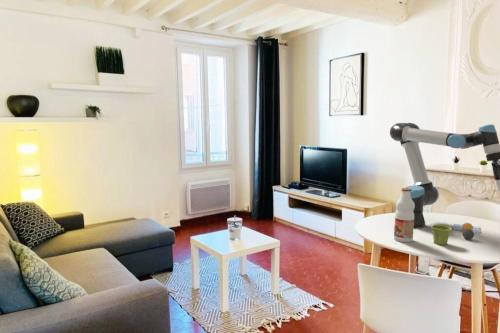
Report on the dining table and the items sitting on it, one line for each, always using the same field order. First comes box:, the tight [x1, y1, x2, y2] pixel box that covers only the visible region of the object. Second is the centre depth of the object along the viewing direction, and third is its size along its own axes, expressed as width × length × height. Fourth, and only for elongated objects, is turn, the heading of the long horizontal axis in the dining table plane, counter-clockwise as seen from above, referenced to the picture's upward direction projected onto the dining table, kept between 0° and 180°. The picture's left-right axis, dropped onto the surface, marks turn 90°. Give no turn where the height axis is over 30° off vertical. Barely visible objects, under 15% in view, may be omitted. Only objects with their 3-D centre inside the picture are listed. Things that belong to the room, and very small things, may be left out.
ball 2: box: [462, 229, 475, 240], centre depth 201 cm, size 6×6×6 cm
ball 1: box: [461, 222, 473, 232], centre depth 213 cm, size 6×6×6 cm
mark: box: [452, 223, 482, 234], centre depth 221 cm, size 14×14×1 cm
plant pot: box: [431, 224, 452, 246], centre depth 193 cm, size 9×9×9 cm
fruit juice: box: [393, 187, 415, 243], centre depth 197 cm, size 9×9×28 cm
